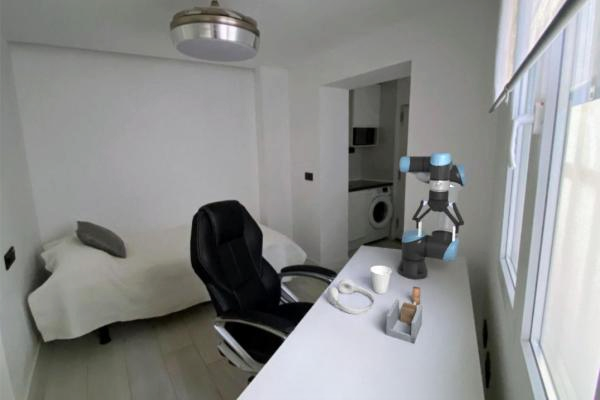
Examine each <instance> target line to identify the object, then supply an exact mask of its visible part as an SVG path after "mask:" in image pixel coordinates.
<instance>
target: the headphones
mask: <svg viewBox="0 0 600 400" xmlns="http://www.w3.org/2000/svg"><path fill="white" fill-rule="evenodd" d="M326 290H327V291H326V296H327V300H328V302H329V304H332V305H335V306H337V308H338V309H340V310H341V311H342V312H345V313H347V314H352V315H362V314H365V313H367V312H369V311H370V310H371V309H373V307H374V304H375V296H374V294H373V293H372V292H370V291H369V290H368V289H366V288H363V287H361V286H358V285H357V284H356V283H354V282H353V281H352V280H351V279H348V278H343V279H341V280H340V281H339V282H338V286H337V287H336V286H329V287H328V288H327V289H326ZM339 292H340V293H341V294H343V295H351V294H353V293H354V292H360V293H362V294H364V295H366V296H367V297H369V299H371V301H372V304H371V305H370V306H368V307H366V308H364V309H363V308H362V309H357V308H356V309H355V308H351V307H347V306H345V305H344V304H343V303H341V302H340V296H339V295H340V294H339Z"/></svg>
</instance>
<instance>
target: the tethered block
mask: <svg viewBox="0 0 600 400" xmlns="http://www.w3.org/2000/svg"><path fill="white" fill-rule="evenodd" d="M411 298H412V299H411V301H412V302H411V303H409V302H405V301H404V302H403V303H402V305H401V308H400V322H401V323H405V324H408V325H411V326H412V321H413V318H414V316H415V314H416V311H417V309H418V306H419V305H421V287H419V286H413V287H412V296H411Z"/></svg>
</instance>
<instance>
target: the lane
mask: <svg viewBox="0 0 600 400" xmlns="http://www.w3.org/2000/svg"><path fill="white" fill-rule="evenodd" d="M399 317H400V299H395V300H394V302H393V304H392V306H391V308H389V310H388V313H387V314H386V329H385V330H386V331H385V332H386V333H385V335H386V336H389V337H390V338H391V337H392V338H395V339H398V340H401V341H404V342H407V343H411V344H415V343H416V340H417V337H418V335H419V333H420V330H421V327H422V323H423V321H422V319H423V305H421V304H419V305H418V306H417V311H416V314H415V316H414V318H413V321H412V325H411V326H410V327H411V330H410V331H411V332H410V334H409V333H405V332H402V331H400V330H396V329H394V328H395V326H396V324H397V322H398V320H399Z"/></svg>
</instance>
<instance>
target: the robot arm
mask: <svg viewBox="0 0 600 400" xmlns="http://www.w3.org/2000/svg"><path fill="white" fill-rule="evenodd" d="M398 165H399V167H398V168H399V171H400V172H401V173H406V174H407V173H410V174H412V175H413V176H415V178H416V179H417V180H418V181H419V182H422V183H424V184H426V185H429V187H428V188H429V190H428V200H425V199H421V201H420V203H419V204H420V205H419V206H418V208H417V210H416V212H415V213H414V214H413V216H412V217H411V220H412V221H415V222H416V225H415V227H416V229H411V230H408V231H404V233H402V237H401V258H400V262H399V264H398V267H397V273H398V275H400V276H401V277H403V278H407V279H411V280H423V279H425V278H427V277H429V276H428V274H429V269H428V267H427V264H426V258H428V259H435V260H440V261H448V262H449V261H450V262H453V261H455V260H456V258H457V255H458V251H459V245H460V238H458V236H457V235H458V234H459V233H460V231H459V230H460V226H464V225H465V220H464V218H463V217H462V214H461V213H460V210H459V208H458V206H457V204H458V198H459V192H460V191H462V189H463V188H464V187H466V170H465V166H464V165H463V164H456V163H454V162H453V159H452V157H451V153H450V152H432V153H431V155H430V156H429V155H428V156H427V155H424V156H422V155H421V156H417V155H414V156H411V155H407V156H405V155H404V156H401V157H400V159H399V164H398ZM426 205H428V207H429V208H427V209H426V210H425V211H423V213H422V214H421V215H419V214H420V212H421V211H422V209H423V208H424V206H426ZM431 211H432V212H435V213H436V212H437V215H436V221H435V222H436V224H435V229H433V230H432V231H431V235H430V234H427V232H426V231H425V230H422V226H423V222H422V219H423V218H424V217H426V216H427V215H428V214H429V213H430V212H431ZM418 216H419V217H418Z"/></svg>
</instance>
